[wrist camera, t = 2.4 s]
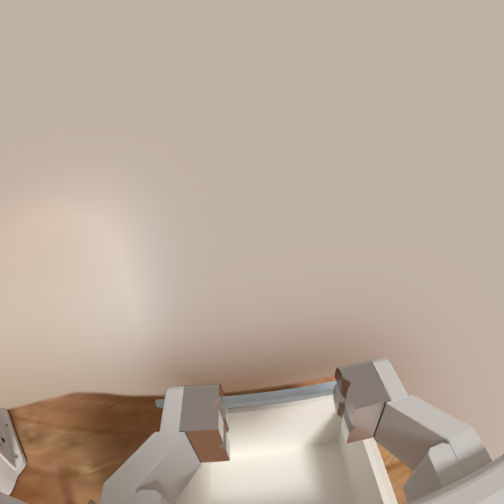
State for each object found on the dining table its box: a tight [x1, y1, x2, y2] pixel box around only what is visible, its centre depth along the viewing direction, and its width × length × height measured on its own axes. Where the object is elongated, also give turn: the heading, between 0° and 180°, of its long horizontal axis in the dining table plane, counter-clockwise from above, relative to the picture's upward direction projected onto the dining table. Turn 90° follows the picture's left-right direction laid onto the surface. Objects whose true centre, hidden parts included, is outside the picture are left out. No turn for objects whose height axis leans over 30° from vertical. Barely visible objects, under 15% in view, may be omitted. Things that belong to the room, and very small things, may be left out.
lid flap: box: [155, 381, 337, 409], centre depth 26 cm, size 11×17×1 cm
